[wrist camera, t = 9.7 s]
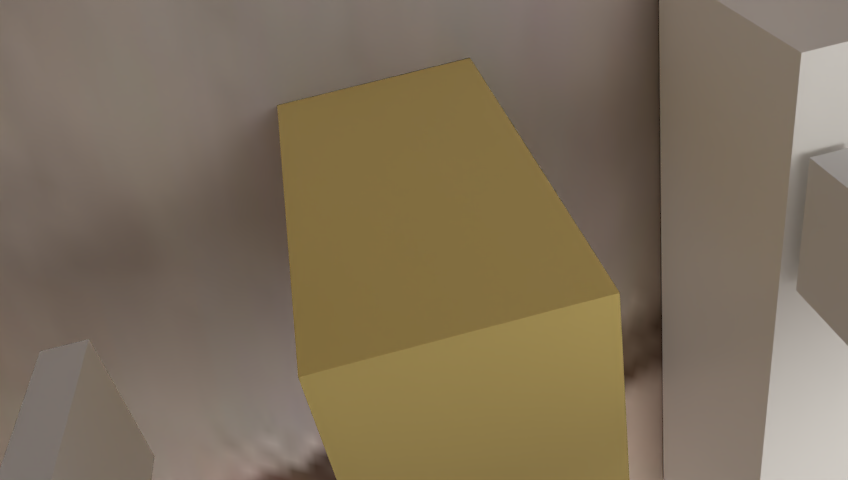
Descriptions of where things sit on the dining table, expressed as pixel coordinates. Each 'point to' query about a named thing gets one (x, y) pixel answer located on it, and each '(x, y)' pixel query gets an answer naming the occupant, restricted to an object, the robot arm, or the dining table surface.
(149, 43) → the dining table surface
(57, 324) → the dining table surface
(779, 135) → the socket
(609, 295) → the plug
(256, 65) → the dining table surface
